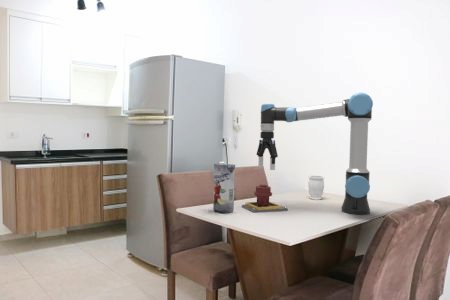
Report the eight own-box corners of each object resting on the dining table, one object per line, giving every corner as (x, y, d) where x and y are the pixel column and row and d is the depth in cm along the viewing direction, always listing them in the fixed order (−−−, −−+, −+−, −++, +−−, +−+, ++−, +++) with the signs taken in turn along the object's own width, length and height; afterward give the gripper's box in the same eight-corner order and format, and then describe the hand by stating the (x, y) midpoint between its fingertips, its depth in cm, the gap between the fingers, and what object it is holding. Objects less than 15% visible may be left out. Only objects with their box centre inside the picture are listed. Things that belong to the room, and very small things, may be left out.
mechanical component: (272, 205, 215) (270, 208, 205) (255, 204, 217) (252, 207, 207) (272, 184, 214) (271, 186, 204) (255, 183, 216) (253, 185, 206)
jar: (325, 200, 245) (326, 177, 244) (309, 199, 245) (310, 177, 244) (321, 197, 255) (322, 175, 255) (306, 197, 255) (307, 175, 255)
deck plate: (287, 210, 207) (288, 205, 207) (254, 212, 199) (254, 207, 199) (273, 205, 222) (273, 200, 222) (241, 207, 214) (241, 202, 214)
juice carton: (222, 209, 207) (223, 160, 206) (236, 212, 200) (237, 162, 199) (210, 211, 201) (211, 161, 200) (224, 214, 193) (225, 162, 192)
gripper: (251, 131, 220) (250, 167, 220) (272, 131, 197) (271, 171, 197) (262, 131, 222) (261, 166, 223) (284, 131, 199) (283, 170, 200)
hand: (266, 168), depth 210 cm, fingers open, 13 cm apart
